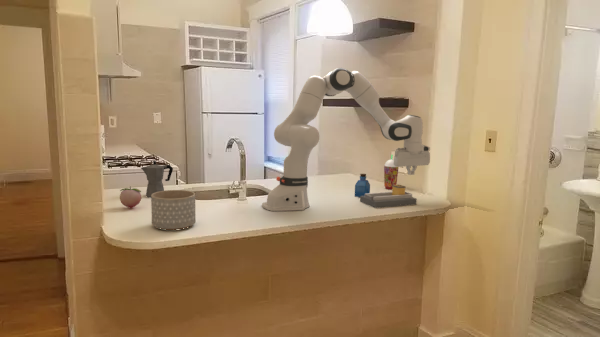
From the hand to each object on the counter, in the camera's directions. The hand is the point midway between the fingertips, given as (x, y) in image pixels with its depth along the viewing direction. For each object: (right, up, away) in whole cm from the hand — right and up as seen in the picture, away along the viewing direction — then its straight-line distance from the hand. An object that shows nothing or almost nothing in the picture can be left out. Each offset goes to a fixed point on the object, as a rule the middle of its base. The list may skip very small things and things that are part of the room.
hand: (411, 174), depth 226 cm
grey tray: (-12, -14, -3) cm, 19 cm away
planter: (-106, -20, -52) cm, 119 cm away
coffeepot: (-129, -11, 0) cm, 129 cm away
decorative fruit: (-132, -15, -27) cm, 136 cm away
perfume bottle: (-23, -12, +11) cm, 28 cm away
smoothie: (-4, -9, +34) cm, 35 cm away
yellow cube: (-7, -11, -1) cm, 13 cm away
